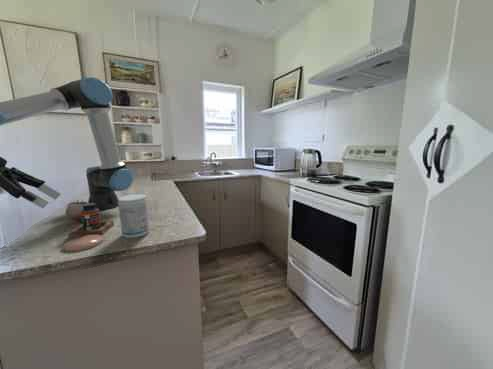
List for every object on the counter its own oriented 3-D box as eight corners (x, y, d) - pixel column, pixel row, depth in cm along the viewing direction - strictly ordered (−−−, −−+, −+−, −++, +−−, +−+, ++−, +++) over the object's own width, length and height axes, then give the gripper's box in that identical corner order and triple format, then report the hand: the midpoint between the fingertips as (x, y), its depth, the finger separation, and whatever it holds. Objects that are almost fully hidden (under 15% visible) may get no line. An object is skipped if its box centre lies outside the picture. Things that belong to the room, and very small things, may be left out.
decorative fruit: (96, 216, 101) (93, 196, 99) (88, 222, 93) (85, 201, 91) (73, 218, 99) (70, 198, 97) (63, 224, 91) (59, 202, 89)
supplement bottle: (92, 234, 80) (88, 206, 78) (79, 233, 81) (75, 205, 79) (105, 228, 86) (101, 202, 84) (93, 227, 87) (89, 201, 85)
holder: (85, 227, 88) (84, 222, 88) (113, 225, 90) (113, 220, 90) (68, 238, 77) (68, 233, 77) (101, 235, 79) (100, 230, 79)
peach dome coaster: (76, 238, 77) (76, 236, 77) (109, 235, 79) (108, 233, 79) (55, 253, 66) (55, 250, 66) (94, 249, 68) (93, 246, 68)
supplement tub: (125, 230, 84) (121, 195, 81) (151, 227, 87) (147, 193, 84) (119, 240, 75) (114, 201, 72) (147, 237, 78) (143, 198, 75)
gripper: (-6, 166, 76) (55, 200, 86) (-59, 174, 55) (30, 218, 65) (11, 152, 78) (69, 187, 88) (-34, 153, 56) (49, 200, 66)
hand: (53, 200), depth 76 cm, fingers open, 13 cm apart
